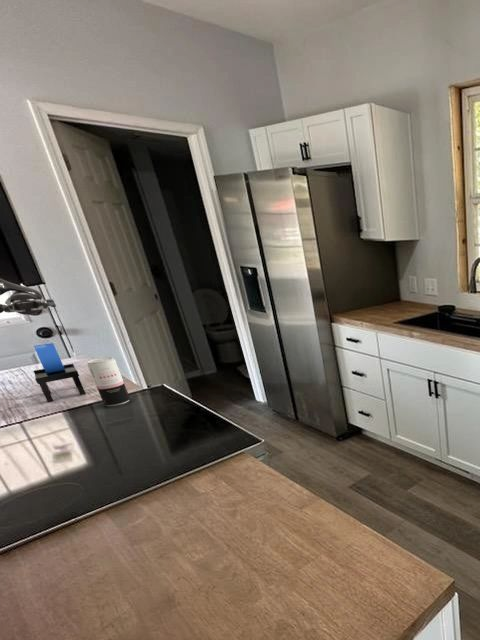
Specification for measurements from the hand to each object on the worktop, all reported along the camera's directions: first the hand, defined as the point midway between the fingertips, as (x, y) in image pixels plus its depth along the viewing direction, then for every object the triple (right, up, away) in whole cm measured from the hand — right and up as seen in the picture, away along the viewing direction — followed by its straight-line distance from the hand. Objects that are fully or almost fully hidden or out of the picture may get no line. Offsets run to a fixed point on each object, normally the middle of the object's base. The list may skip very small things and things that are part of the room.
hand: (26, 307), depth 143 cm
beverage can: (+37, -33, -6) cm, 50 cm away
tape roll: (+9, -23, +1) cm, 24 cm away
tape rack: (+9, -30, +4) cm, 32 cm away
